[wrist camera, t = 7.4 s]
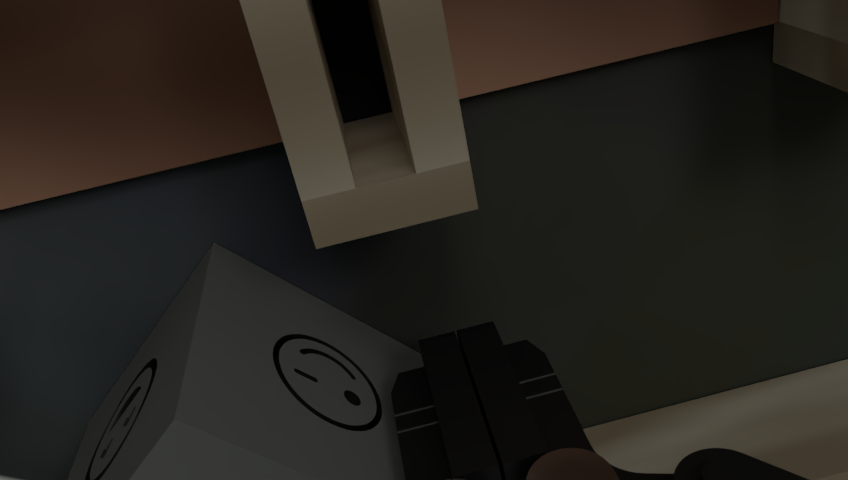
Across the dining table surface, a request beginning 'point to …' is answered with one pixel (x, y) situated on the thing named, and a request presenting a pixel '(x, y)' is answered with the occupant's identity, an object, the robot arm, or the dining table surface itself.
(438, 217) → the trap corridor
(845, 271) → the dining table surface
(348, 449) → the dice cube
